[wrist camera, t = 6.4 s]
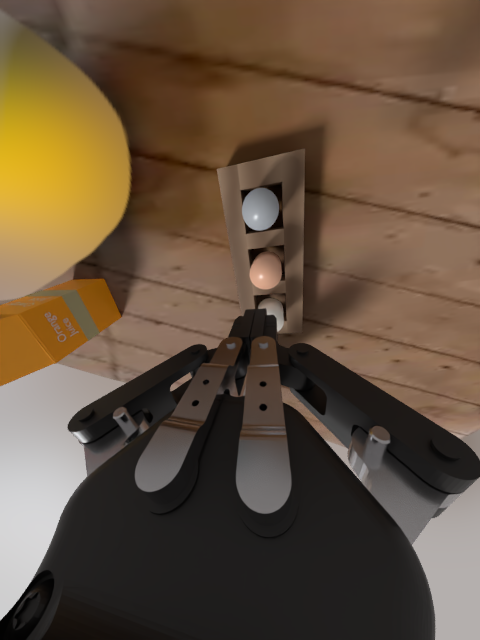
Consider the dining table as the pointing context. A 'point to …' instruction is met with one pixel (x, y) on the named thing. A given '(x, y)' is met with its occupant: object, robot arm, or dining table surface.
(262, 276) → the peach egg
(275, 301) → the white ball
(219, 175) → the tan frame
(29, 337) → the orange juice
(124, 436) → the robot arm
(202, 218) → the dining table surface
